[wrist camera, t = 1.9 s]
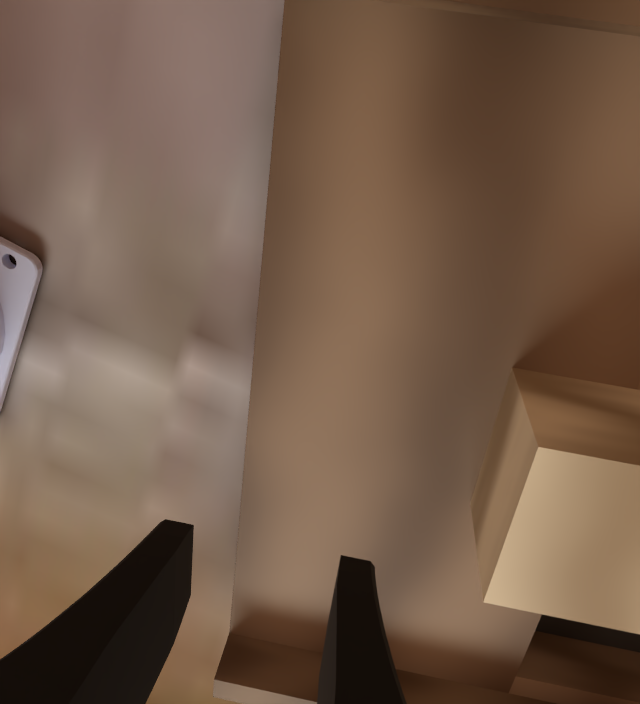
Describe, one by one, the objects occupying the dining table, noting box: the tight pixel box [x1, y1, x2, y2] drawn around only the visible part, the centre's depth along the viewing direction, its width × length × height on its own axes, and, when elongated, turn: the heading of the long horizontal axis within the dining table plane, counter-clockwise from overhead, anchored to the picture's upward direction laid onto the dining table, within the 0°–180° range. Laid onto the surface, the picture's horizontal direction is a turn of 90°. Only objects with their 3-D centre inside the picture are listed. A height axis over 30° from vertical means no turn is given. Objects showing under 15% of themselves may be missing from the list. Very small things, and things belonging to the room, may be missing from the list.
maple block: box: [470, 368, 640, 634], centre depth 16 cm, size 5×5×4 cm
